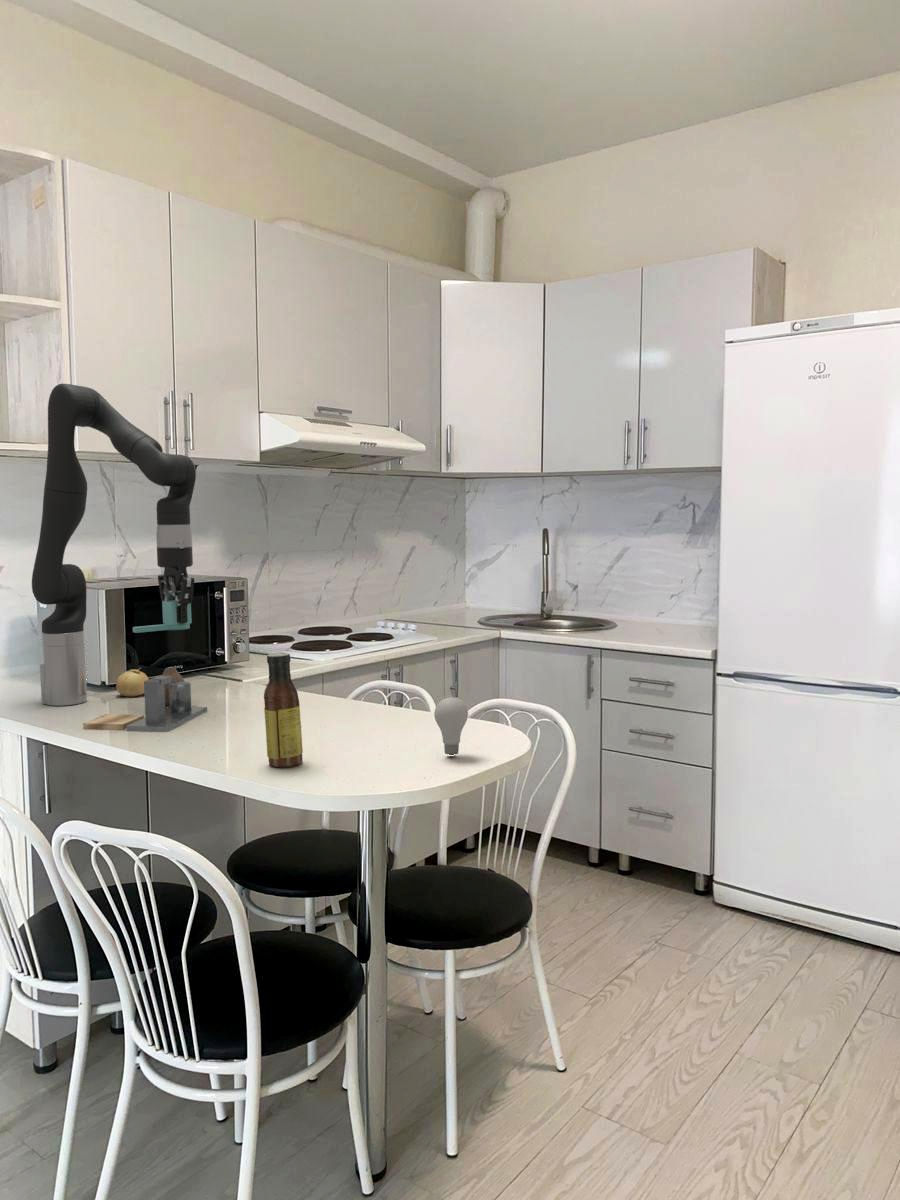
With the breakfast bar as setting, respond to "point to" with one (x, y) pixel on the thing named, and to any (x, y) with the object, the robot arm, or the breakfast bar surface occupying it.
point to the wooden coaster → (112, 722)
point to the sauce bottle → (282, 714)
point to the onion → (131, 683)
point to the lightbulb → (451, 722)
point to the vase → (175, 678)
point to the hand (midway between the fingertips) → (177, 621)
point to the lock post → (155, 706)
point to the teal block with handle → (167, 619)
